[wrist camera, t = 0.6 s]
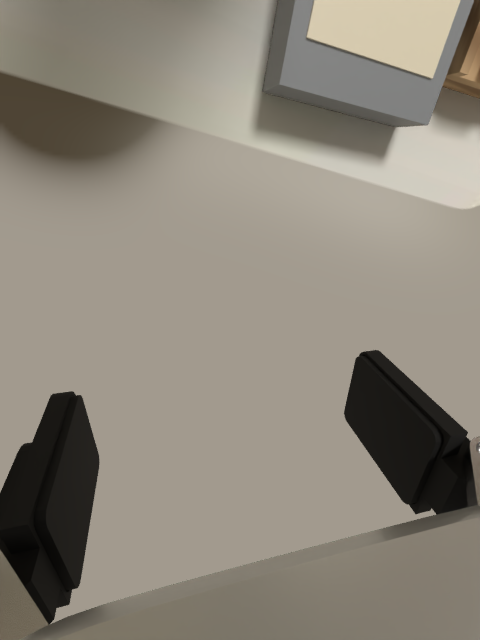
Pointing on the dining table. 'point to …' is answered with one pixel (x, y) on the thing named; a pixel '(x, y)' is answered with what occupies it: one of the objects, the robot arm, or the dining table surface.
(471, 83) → the pallet
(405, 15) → the dock
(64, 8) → the dining table surface
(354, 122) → the dining table surface
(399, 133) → the dining table surface
